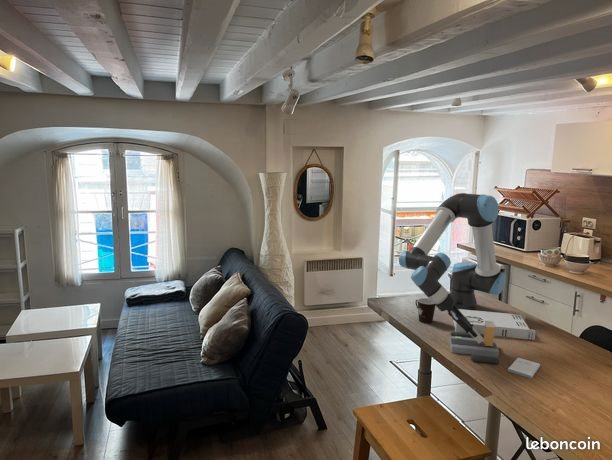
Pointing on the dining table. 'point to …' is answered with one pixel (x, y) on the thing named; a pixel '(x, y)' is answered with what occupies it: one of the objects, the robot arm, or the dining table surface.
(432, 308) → the coffee mug
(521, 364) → the external hard drive
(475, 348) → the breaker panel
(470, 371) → the dining table surface
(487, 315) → the power supply unit
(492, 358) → the dark grey capsule rod
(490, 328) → the block
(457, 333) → the dark grey rounded rod
